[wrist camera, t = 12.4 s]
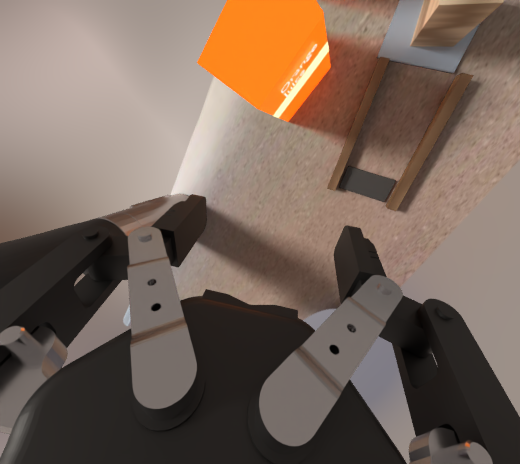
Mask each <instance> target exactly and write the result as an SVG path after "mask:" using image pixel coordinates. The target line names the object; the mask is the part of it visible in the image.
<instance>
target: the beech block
mask: <svg viewBox="0 0 520 464" xmlns="http://www.w3.org/2000/svg"><path fill="white" fill-rule="evenodd" d="M503 2H504V0H424V2H423V5H422V8H421V12H420V15H419V18H418V21H417V25H416V28H415V31H414V35H413V38H412V41H411V44H410V46H429V47H453V46H454V45H456V44H457V43H458V42H459V41H460V40H461V39H462V38H464V37H465V36H466V35H467V34H468V33H469V32H470V31H472V30H473V29H474V28H475V27H476V26H477V25H478V24H480V23H481V22H482V21H483V20H484V19H485V18H486V17H488V16H489V15H490V14H491V13H492V12H493V11H494V10H496V9H497V8H498V7H499V6H500V5H501V4H502V3H503Z"/></svg>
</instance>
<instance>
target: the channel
mask: <svg viewBox="0 0 520 464" xmlns="http://www.w3.org/2000/svg"><path fill="white" fill-rule="evenodd" d="M389 60H390V58H385V57H380V58H379V60H378V63H377V65H376V68H375V70H374V73H373V75H372V78H371V80H370V83H369V85H368V88H367V90H366V93H365V95H364V98H363V100H362V103H361V105H360V108H359V110H358V113H357V115H356V118H355V120H354V123H353V125H352V128H351V130H350V133H349V135H348V138H347V140H346V143H345V145H344V148H343V150H342V153H341V155H340V158H339V160H338V162H337V165H336V167H335V170H334V172H333V175H332V177H331V180H330V182H329V185H328V188H327V189H330V190H333V191H335V189H336V187H337V184H338V182H339V180H340V177H341V175H342V172H343V170H344V168H345V165H346V163H347V160H348V158H349V156H350V153H351V151H352V149H353V146H354V144H355V141H356V139H357V137H358V134H359V132H360V129H361V127H362V125H363V122H364V120H365V118H366V115H367V113H368V110H369V108H370V106H371V103H372V101H373V98H374V96H375V94H376V91H377V89H378V86H379V84H380V82H381V79H382V77H383V75H384V72H385V70H386V67H387V65H388V63H389ZM472 77H473V75H469V74H464V73H461V74H460V75H458V76H456V77H455V79H454V81H453V83H452V84H451V86H450V88H449V90H448V92H447V94H446V96H445V97H444V99H443V101H442V103H441V105H440V107H439V108H438V110H437V112H436V114H435V116H434V118H433V119H432V121H431V123H430V125H429V127H428V129H427V131H426V132H425V134H424V136H423V138H422V140H421V142H420V143H419V145H418V147H417V149H416V151H415V153H414V155H413V156H412V158H411V160H410V162H409V164H408V166H407V167H406V169H405V171H404V173H403V175H402V177H401V179H400V180H399V182H398V184H397V186H396V188H395V190H394V191H393V193H392V195H391V197H390V199H389V201H388V203H387V204H386V207H387V208H388V209H391V210H394V211H396V210H397V209H398V207H399V205H400V203H401V202H402V200H403V198H404V196H405V195H406V193H407V191H408V189H409V188H410V186H411V184H412V182H413V181H414V179H415V177H416V175H417V174H418V172H419V170H420V168H421V167H422V165H423V163H424V161H425V160H426V158H427V156H428V154H429V153H430V151H431V149H432V147H433V146H434V144H435V142H436V140H437V139H438V137H439V135H440V133H441V131H442V130H443V128H444V126H445V124H446V123H447V121H448V119H449V117H450V116H451V114H452V112H453V110H454V109H455V107H456V105H457V103H458V102H459V100H460V98H461V96H462V95H463V93H464V91H465V89H466V88H467V86H468V84H469V82H470V81H471V79H472Z"/></svg>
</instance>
